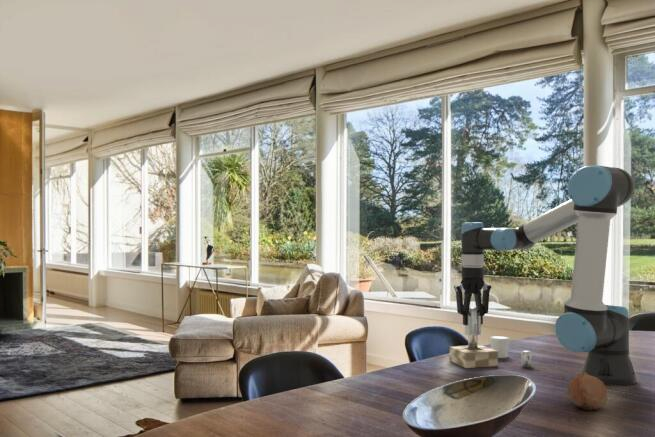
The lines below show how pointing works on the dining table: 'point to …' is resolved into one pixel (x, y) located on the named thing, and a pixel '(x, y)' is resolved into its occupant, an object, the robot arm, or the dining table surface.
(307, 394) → the dining table surface
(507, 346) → the shot glass
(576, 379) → the onion
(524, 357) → the short pin
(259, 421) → the dining table surface
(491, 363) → the hole block
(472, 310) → the long pin
